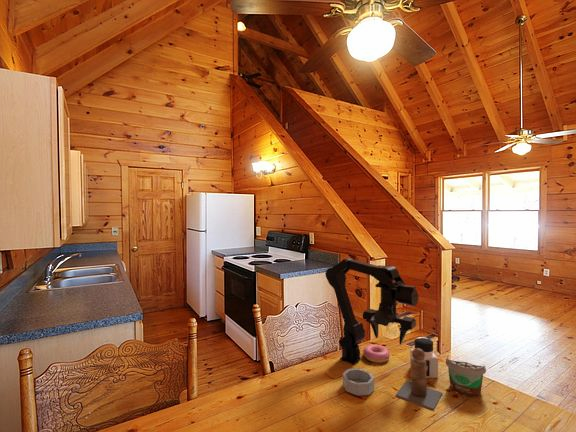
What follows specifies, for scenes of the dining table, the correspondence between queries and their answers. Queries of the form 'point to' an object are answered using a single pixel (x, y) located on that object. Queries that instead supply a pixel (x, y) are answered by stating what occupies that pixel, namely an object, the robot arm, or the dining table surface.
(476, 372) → the food container
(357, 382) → the bowl
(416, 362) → the pepper mill
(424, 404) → the mat
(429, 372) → the container
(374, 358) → the doughnut
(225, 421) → the dining table surface
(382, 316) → the robot arm
